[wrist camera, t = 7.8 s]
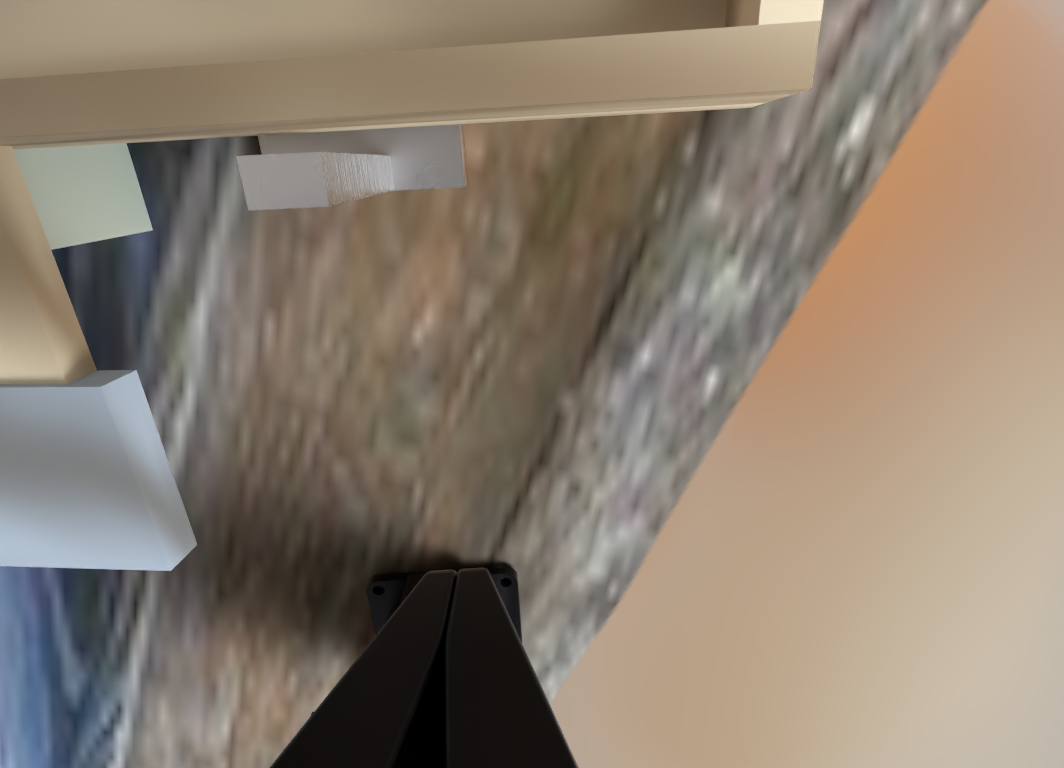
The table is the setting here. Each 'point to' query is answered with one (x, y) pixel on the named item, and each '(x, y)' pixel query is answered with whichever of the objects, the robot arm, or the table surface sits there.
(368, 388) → the table surface
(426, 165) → the pivot stand
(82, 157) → the bin
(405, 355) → the table surface
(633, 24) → the lever
